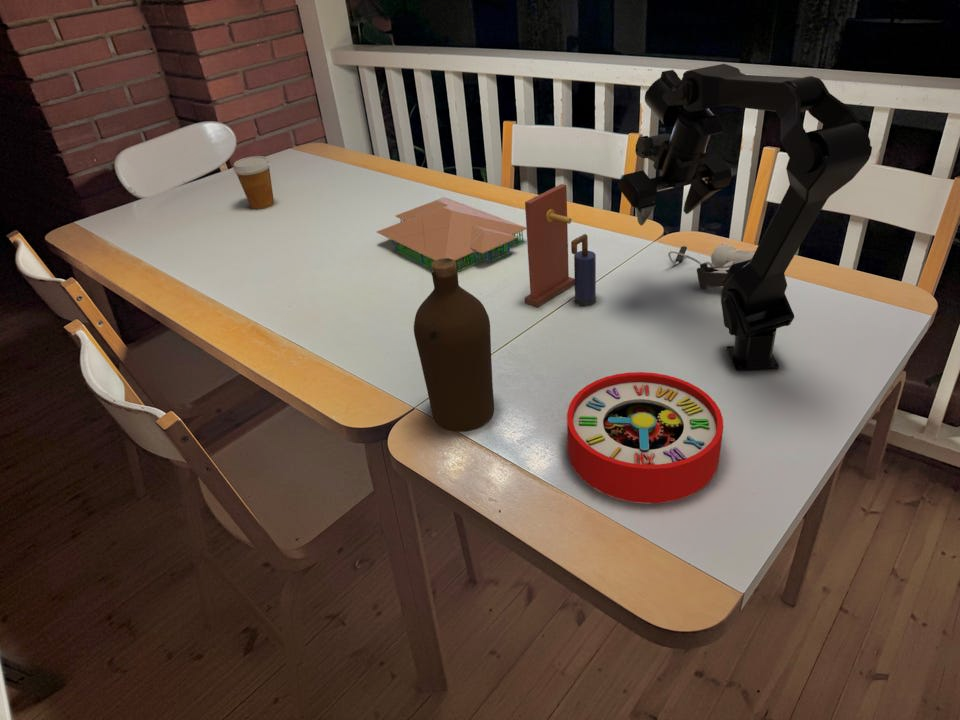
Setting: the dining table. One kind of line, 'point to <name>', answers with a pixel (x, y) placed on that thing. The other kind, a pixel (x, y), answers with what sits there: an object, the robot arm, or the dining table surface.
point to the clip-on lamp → (715, 263)
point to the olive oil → (455, 352)
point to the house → (451, 232)
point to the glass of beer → (255, 180)
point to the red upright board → (547, 245)
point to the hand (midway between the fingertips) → (663, 218)
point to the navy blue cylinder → (584, 272)
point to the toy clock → (644, 437)
